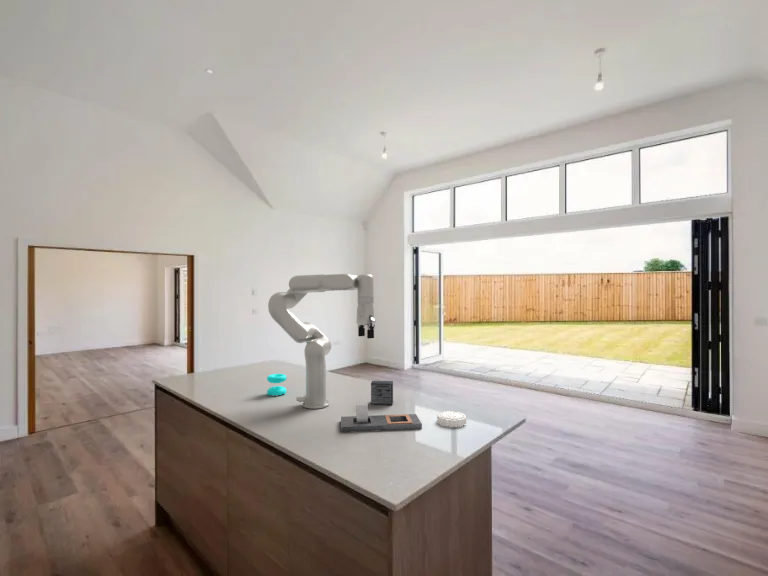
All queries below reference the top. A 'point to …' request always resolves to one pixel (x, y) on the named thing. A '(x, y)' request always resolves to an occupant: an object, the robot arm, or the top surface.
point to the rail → (381, 423)
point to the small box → (382, 392)
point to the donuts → (276, 389)
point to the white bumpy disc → (451, 418)
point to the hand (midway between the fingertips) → (366, 337)
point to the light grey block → (361, 413)
